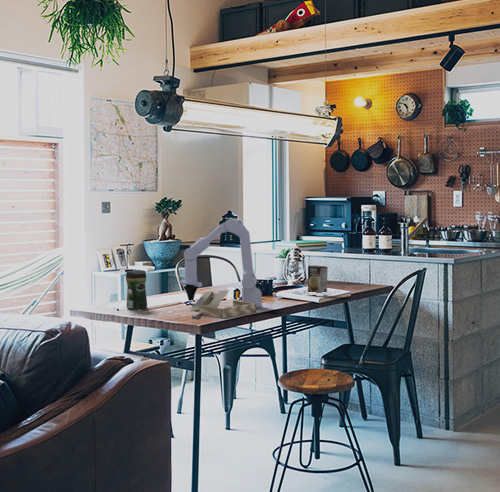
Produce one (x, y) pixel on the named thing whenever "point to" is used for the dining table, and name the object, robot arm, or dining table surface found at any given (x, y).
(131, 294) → the coffee jar
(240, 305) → the bay
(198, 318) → the hook
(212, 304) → the beige slanted rack
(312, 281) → the coffee box
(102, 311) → the dining table surface
